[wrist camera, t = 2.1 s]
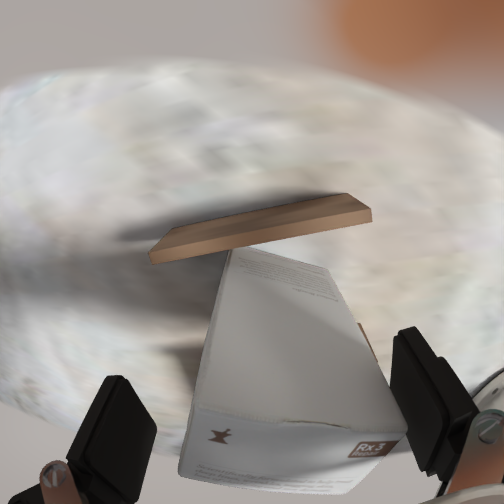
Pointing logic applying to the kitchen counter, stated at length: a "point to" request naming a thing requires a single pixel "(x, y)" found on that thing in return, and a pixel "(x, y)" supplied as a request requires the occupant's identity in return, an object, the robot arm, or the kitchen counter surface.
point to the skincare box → (286, 385)
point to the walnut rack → (262, 228)
